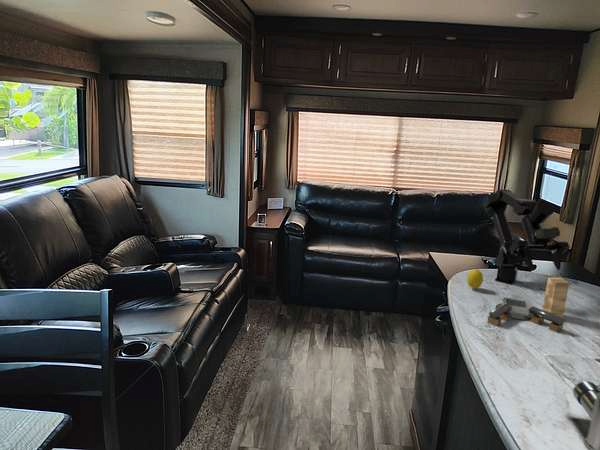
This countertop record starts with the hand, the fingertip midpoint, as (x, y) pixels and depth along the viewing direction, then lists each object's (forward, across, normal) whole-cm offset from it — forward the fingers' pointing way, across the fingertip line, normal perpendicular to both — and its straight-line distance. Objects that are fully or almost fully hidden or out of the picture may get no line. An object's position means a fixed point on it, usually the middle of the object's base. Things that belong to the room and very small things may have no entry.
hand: (545, 269), depth 153 cm
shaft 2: (+20, -7, -1) cm, 21 cm away
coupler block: (+15, 0, +4) cm, 16 cm away
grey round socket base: (+14, -12, +5) cm, 19 cm away
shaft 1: (+18, -20, +1) cm, 27 cm away
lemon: (-1, -17, +20) cm, 27 cm away
